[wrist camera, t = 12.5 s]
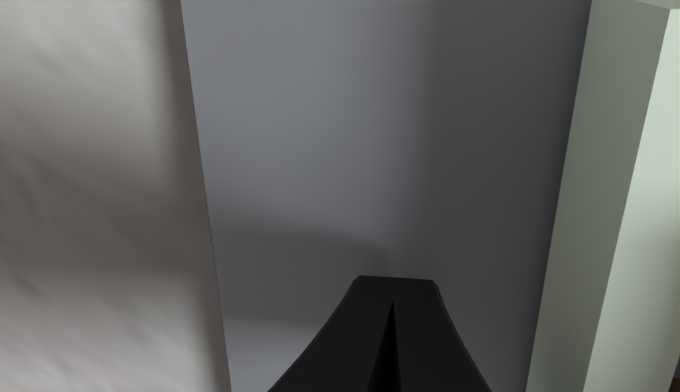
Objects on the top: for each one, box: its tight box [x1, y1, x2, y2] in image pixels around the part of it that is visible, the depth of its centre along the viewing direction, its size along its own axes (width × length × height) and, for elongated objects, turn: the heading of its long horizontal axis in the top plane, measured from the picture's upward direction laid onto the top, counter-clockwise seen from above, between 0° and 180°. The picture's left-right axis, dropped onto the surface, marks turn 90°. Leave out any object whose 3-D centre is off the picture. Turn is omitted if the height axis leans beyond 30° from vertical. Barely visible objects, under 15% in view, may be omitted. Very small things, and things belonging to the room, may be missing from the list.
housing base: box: [180, 0, 680, 392], centre depth 9 cm, size 16×12×4 cm
